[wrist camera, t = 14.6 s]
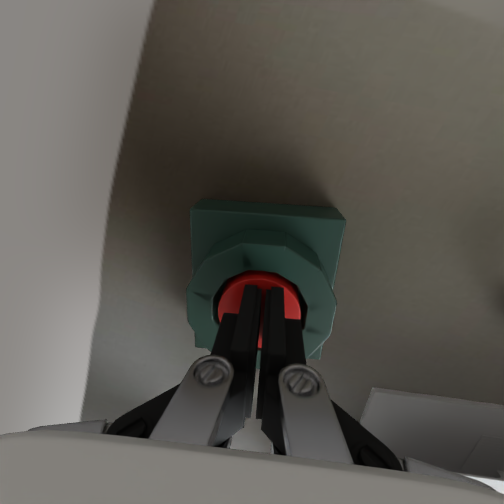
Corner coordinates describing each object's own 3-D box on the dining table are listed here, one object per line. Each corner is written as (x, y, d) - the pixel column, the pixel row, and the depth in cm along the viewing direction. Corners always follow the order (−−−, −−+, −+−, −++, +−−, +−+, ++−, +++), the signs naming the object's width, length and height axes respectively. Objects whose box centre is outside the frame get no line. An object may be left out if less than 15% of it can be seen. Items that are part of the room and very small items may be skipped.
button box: (204, 323, 18) (184, 373, 14) (201, 198, 15) (175, 219, 11) (315, 333, 17) (325, 387, 14) (337, 207, 14) (358, 233, 10)
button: (224, 321, 14) (217, 344, 13) (225, 257, 13) (217, 275, 11) (293, 327, 14) (295, 351, 13) (302, 264, 13) (305, 282, 11)
